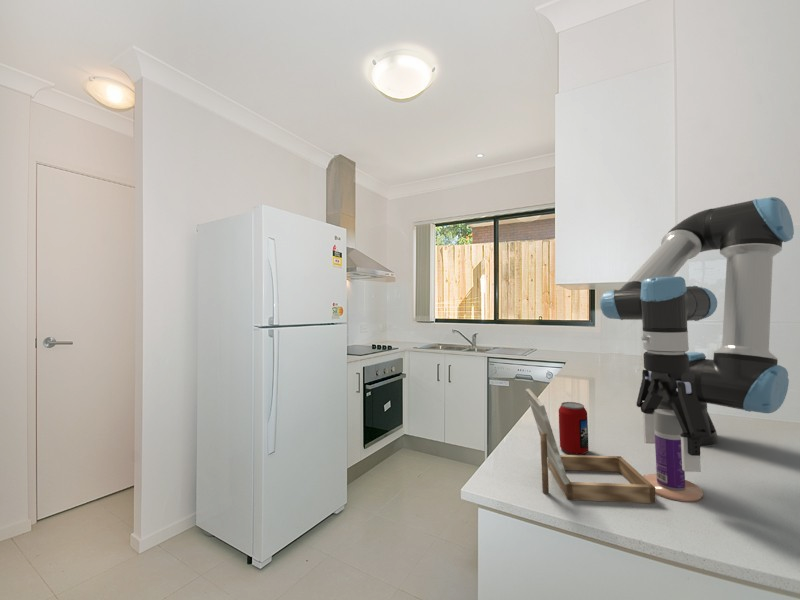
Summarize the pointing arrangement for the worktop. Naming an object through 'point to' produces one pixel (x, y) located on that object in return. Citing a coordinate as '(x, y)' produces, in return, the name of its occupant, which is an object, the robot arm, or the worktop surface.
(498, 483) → the worktop surface
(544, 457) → the wooden frame
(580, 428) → the beverage can
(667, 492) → the saucer
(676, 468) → the container
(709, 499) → the worktop surface
